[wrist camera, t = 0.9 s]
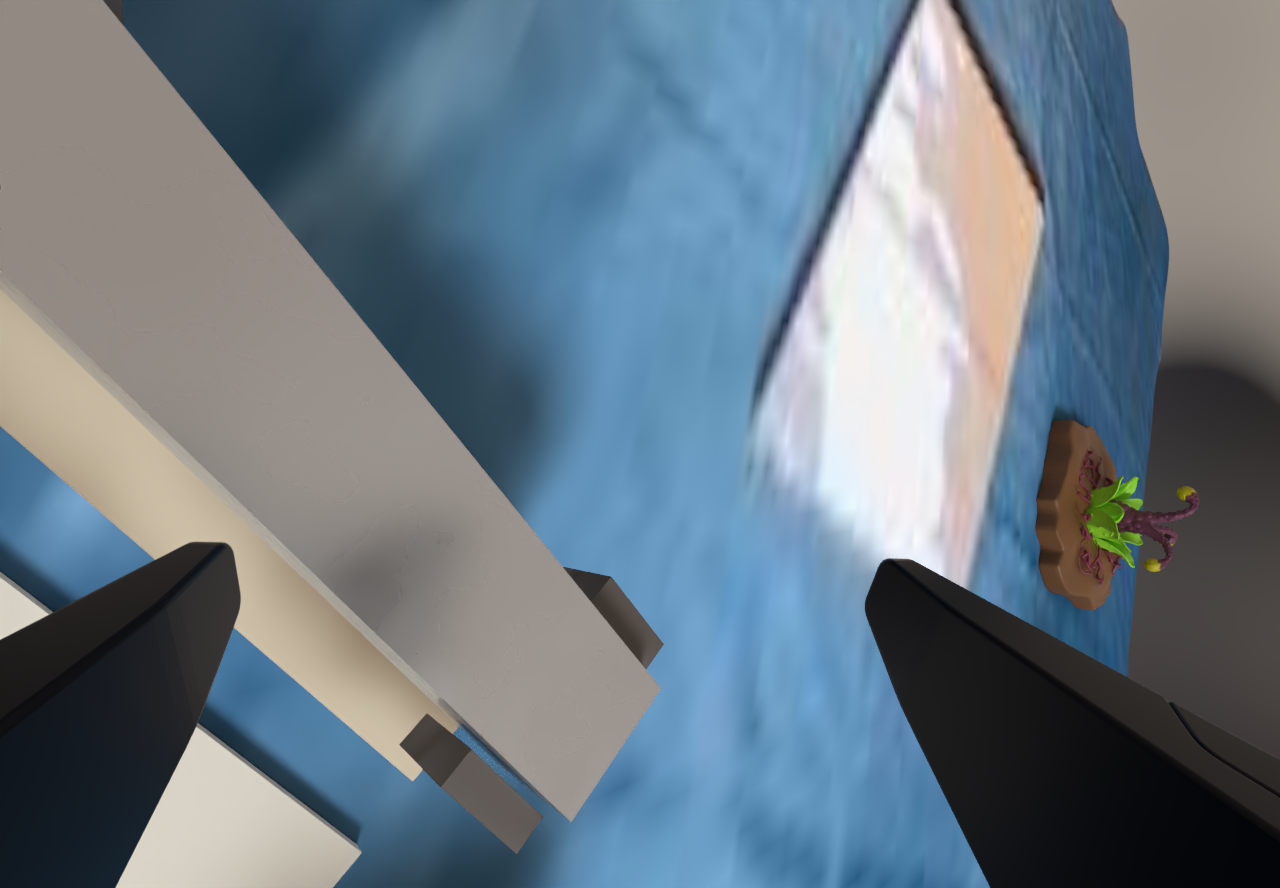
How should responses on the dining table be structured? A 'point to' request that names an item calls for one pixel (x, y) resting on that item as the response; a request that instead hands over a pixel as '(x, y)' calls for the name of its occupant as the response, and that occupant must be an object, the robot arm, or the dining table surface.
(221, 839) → the board
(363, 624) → the rail
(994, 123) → the dining table surface
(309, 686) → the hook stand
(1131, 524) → the plant
